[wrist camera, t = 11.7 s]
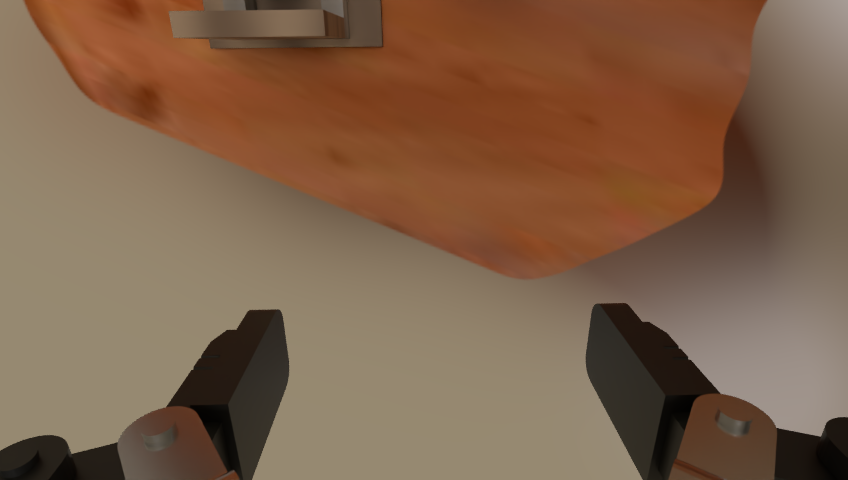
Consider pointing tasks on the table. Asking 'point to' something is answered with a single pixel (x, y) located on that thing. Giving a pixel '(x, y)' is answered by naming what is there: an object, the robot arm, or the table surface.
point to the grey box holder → (282, 23)
